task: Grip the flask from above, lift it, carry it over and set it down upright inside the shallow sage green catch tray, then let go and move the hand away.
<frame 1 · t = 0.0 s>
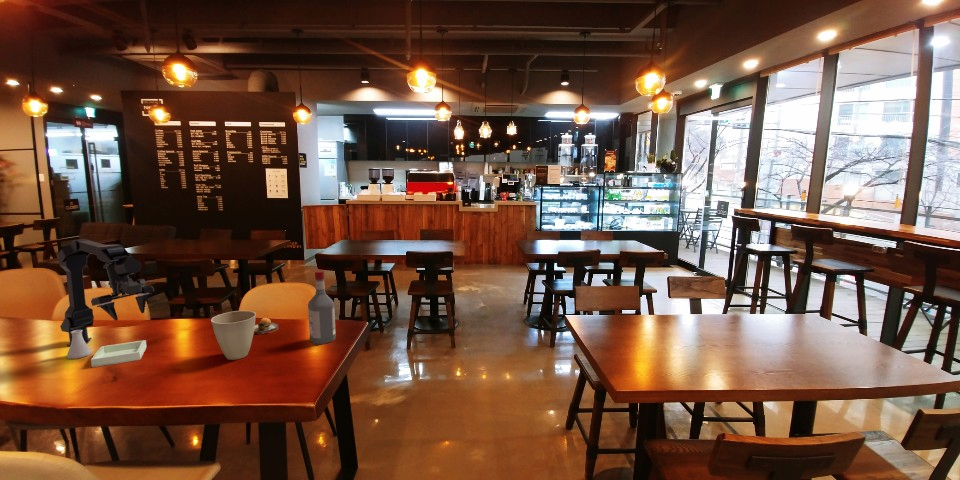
hand: (130, 316, 165), 15 cm above the table, tool pointing down, fingers open, 9 cm apart
catch tray: (120, 356, 166), on the table
burger: (264, 330, 196), on the table
plant pot: (237, 356, 167), on the table
flask: (79, 356, 167), on the table
liquor: (322, 340, 184), on the table
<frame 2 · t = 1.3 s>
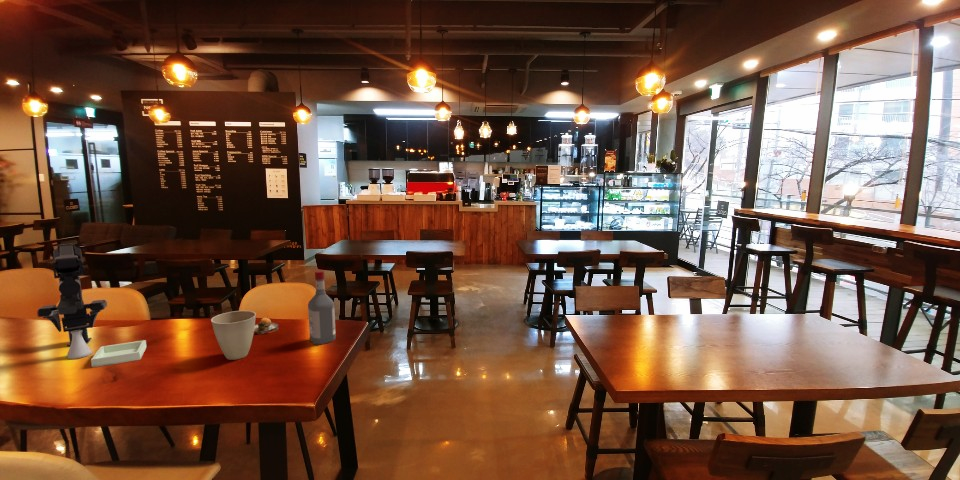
hand: (76, 329, 165), 11 cm above the table, tool pointing down, fingers open, 9 cm apart
nothing on the table moved.
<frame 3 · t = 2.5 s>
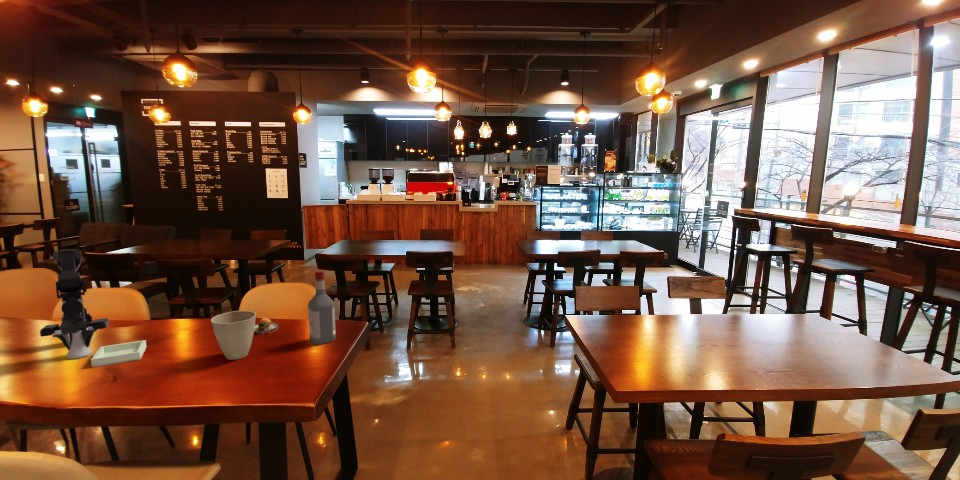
hand: (78, 348, 166), 3 cm above the table, tool pointing down, fingers closed on flask, 5 cm apart
flask: (79, 356, 167), on the table, touching gripper
everything else where it was.
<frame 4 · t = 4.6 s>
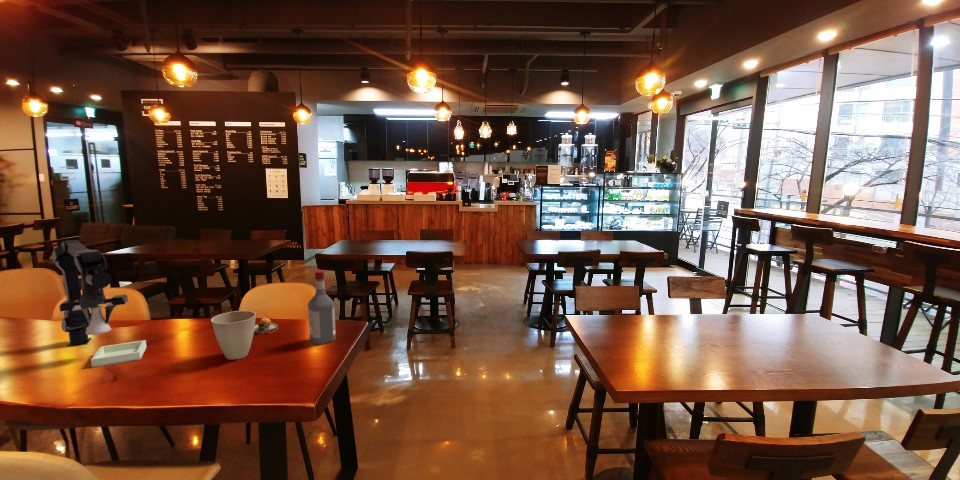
hand: (97, 324, 164), 13 cm above the table, tool pointing down, fingers closed on flask, 5 cm apart
flask: (98, 332, 164), point 10 cm above the table, touching gripper
everything else where it was.
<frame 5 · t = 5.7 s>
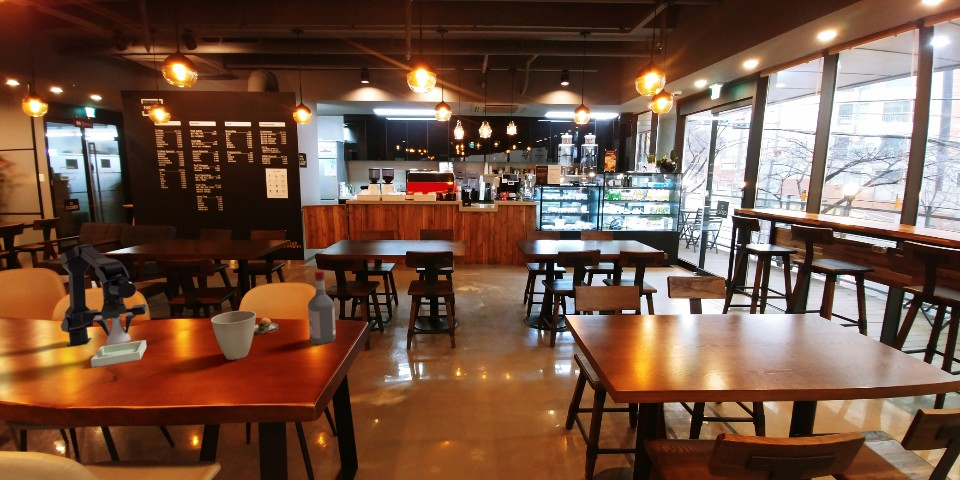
hand: (117, 334, 165), 9 cm above the table, tool pointing down, fingers closed on flask, 5 cm apart
flask: (118, 342, 165), point 6 cm above the table, touching gripper
everything else where it was.
when the fingers open (5 cm above the table, at t = 6.8 s): flask drops 1 cm, resting on catch tray.
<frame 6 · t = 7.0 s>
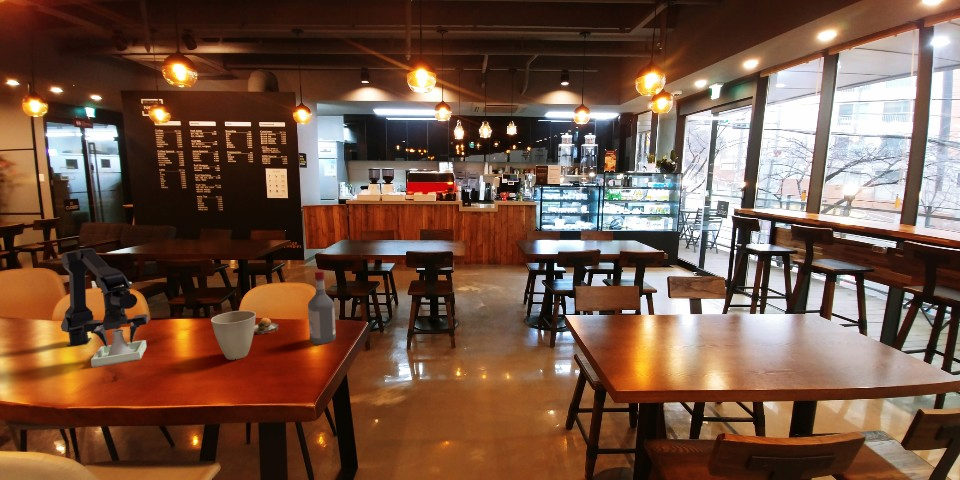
hand: (119, 344, 165), 5 cm above the table, tool pointing down, fingers open, 7 cm apart
flask: (120, 356, 166), resting on catch tray
everything else where it was.
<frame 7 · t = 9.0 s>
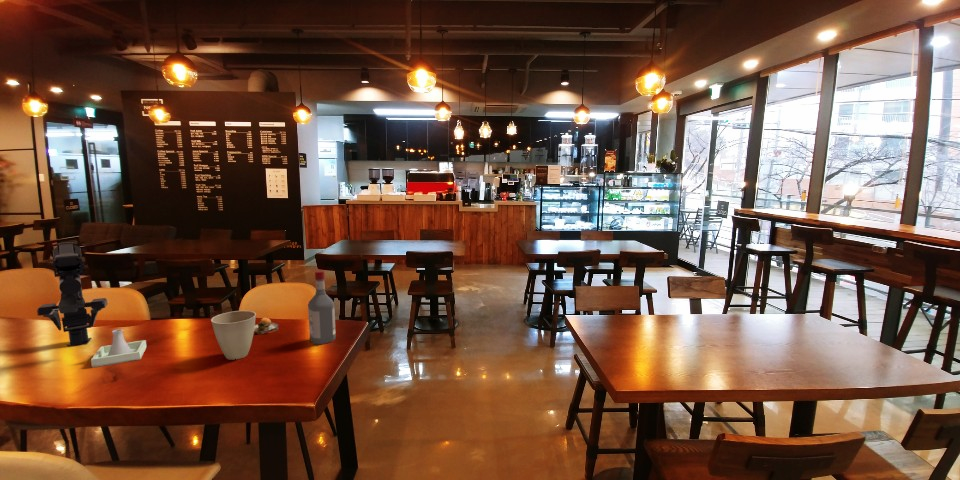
hand: (76, 328, 164), 12 cm above the table, tool pointing down, fingers open, 9 cm apart
nothing on the table moved.
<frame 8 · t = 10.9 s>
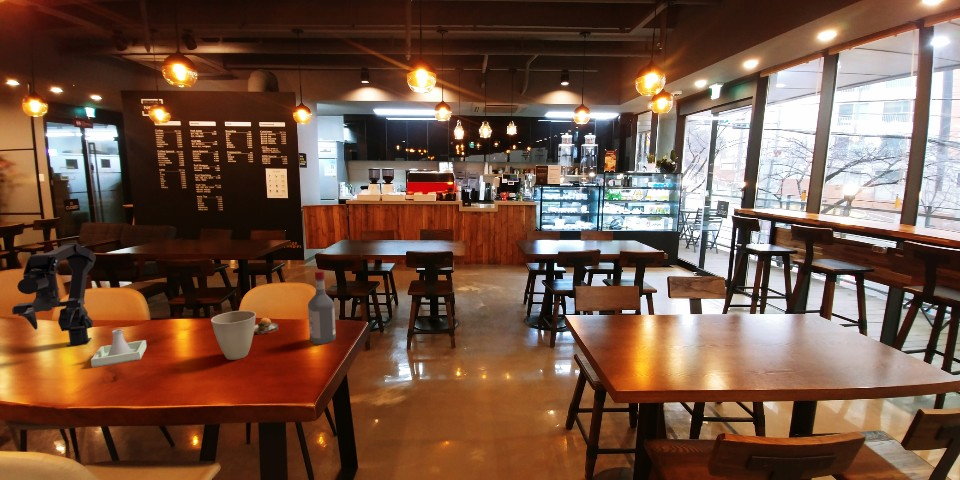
hand: (52, 327, 163), 12 cm above the table, tool pointing down, fingers open, 9 cm apart
nothing on the table moved.
at the end: flask inside the target area on the catch tray (0.1 cm from its centre), point 0.3 cm above the catch tray's base; flask tilted 0°; the gripper is holding nothing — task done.
